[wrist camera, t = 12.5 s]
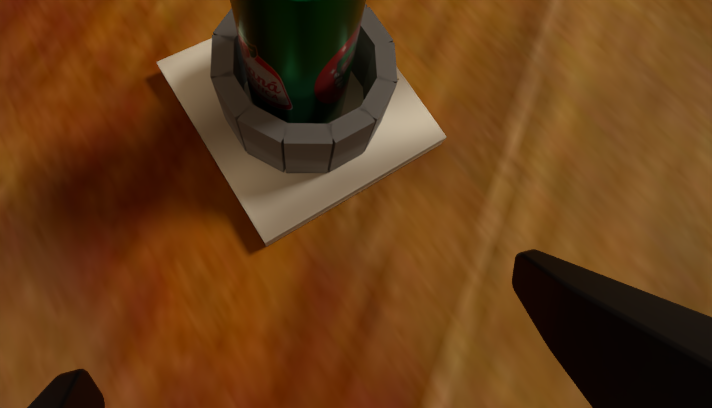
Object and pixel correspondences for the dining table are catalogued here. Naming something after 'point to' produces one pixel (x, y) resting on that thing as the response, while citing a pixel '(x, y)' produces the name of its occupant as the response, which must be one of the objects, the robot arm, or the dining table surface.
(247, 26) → the soda can
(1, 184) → the dining table surface
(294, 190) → the collar socket
